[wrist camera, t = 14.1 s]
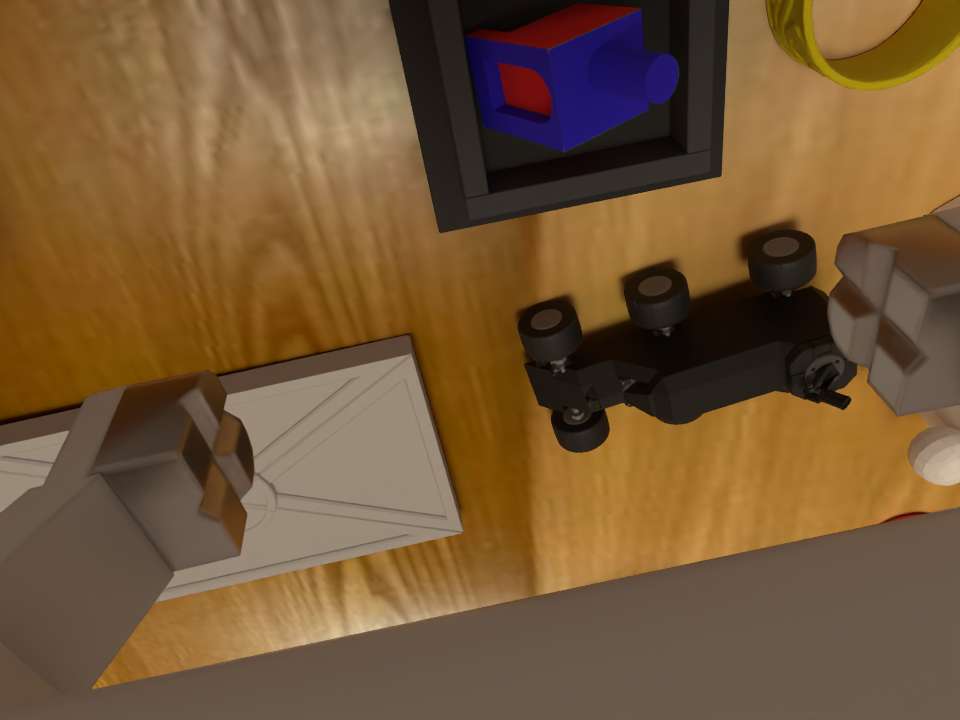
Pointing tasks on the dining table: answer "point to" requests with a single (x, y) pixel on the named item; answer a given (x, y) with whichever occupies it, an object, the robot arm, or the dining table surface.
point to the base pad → (536, 168)
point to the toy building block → (568, 75)
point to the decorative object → (938, 435)
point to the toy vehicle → (691, 348)
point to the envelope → (305, 463)
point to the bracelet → (906, 55)
